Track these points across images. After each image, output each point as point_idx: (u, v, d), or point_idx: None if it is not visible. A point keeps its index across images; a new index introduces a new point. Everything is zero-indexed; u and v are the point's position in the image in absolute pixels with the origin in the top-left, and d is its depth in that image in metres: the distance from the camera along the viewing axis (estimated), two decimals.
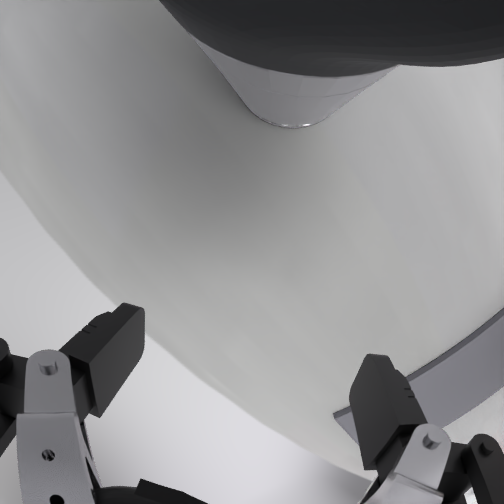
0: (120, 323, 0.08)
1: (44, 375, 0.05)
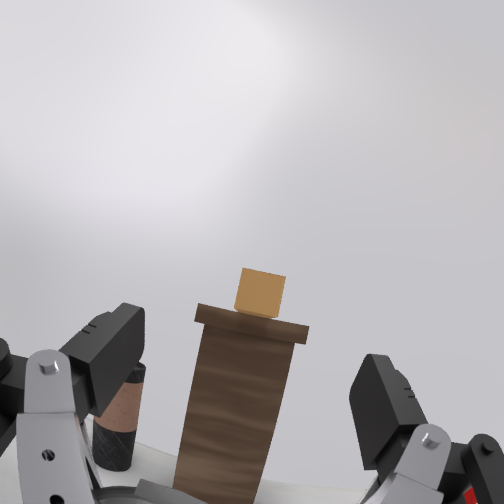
0: (120, 323, 0.08)
1: (44, 375, 0.05)
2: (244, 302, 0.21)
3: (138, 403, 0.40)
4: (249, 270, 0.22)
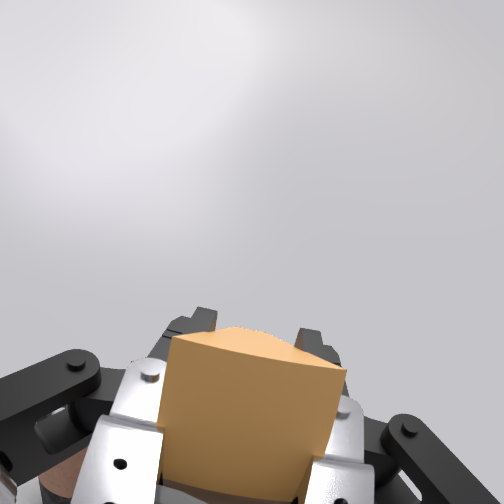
0: (204, 327, 0.09)
1: (152, 385, 0.06)
2: (184, 462, 0.04)
3: None
4: (201, 350, 0.05)
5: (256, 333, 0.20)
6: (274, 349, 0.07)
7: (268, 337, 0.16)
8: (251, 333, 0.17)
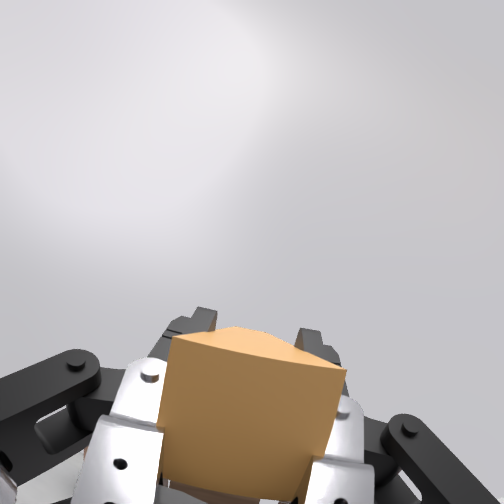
0: (204, 327, 0.09)
1: (152, 385, 0.06)
2: (184, 462, 0.04)
3: None
4: (201, 350, 0.05)
5: (256, 333, 0.20)
6: (274, 349, 0.07)
7: (268, 337, 0.16)
8: (251, 333, 0.17)
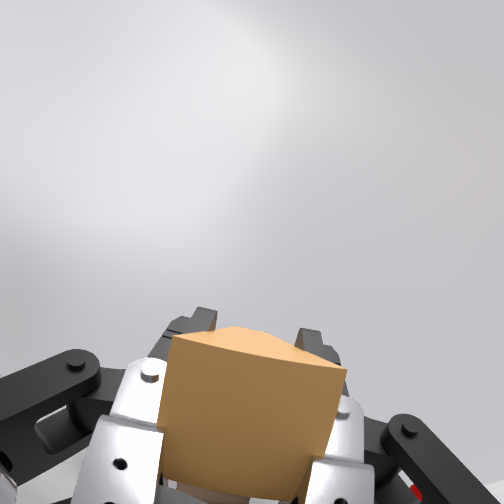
0: (204, 327, 0.09)
1: (152, 385, 0.06)
2: (184, 462, 0.04)
3: None
4: (200, 350, 0.05)
5: (256, 333, 0.20)
6: (274, 348, 0.07)
7: (268, 337, 0.16)
8: (251, 333, 0.17)
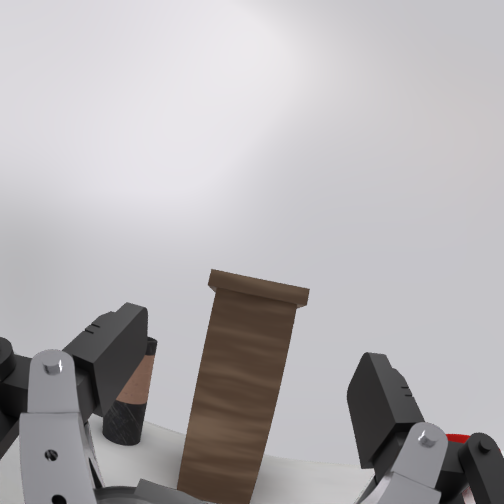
0: (123, 323, 0.08)
1: (48, 375, 0.05)
2: None
3: (149, 375, 0.45)
4: None
5: None
6: None
7: None
8: None
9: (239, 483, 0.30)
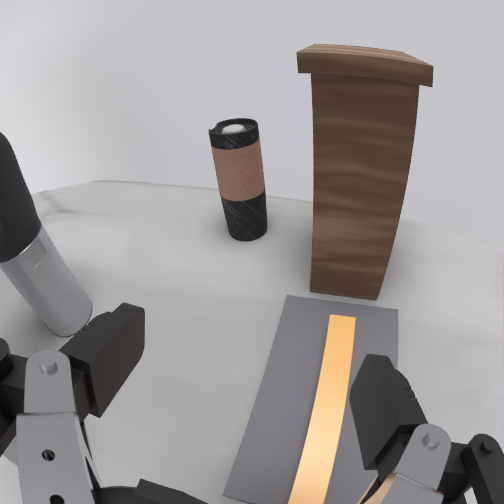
0: (120, 323, 0.08)
1: (44, 375, 0.05)
2: None
3: (260, 162, 0.45)
4: None
5: (333, 401, 0.27)
6: None
7: (333, 432, 0.24)
8: (325, 420, 0.25)
9: (368, 277, 0.38)
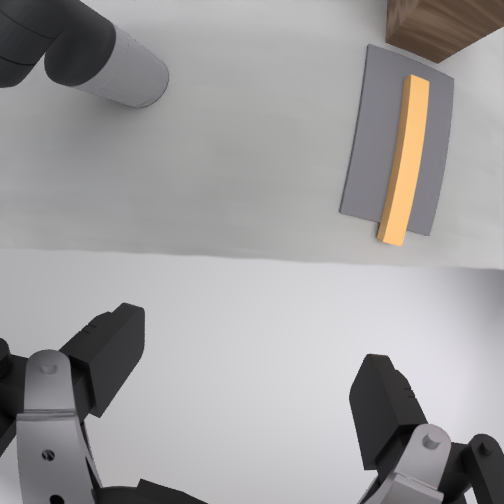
0: (120, 323, 0.08)
1: (44, 375, 0.05)
2: None
3: None
4: (386, 242, 0.40)
5: (415, 145, 0.36)
6: (399, 228, 0.39)
7: (414, 169, 0.37)
8: (410, 159, 0.36)
9: (439, 51, 0.30)
